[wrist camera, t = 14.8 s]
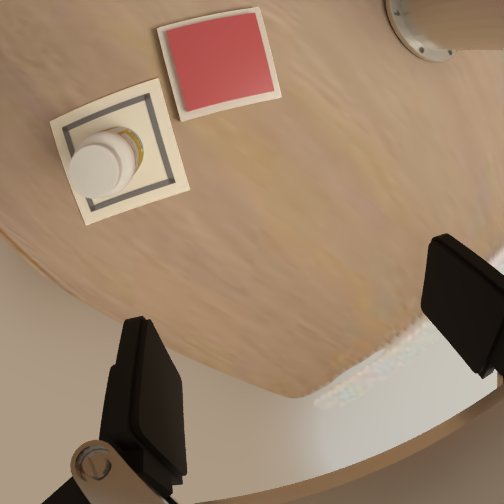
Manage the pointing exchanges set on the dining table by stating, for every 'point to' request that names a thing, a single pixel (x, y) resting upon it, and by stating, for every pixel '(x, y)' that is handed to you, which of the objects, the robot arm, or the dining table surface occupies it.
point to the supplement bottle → (105, 162)
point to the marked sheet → (153, 139)
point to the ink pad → (219, 62)
